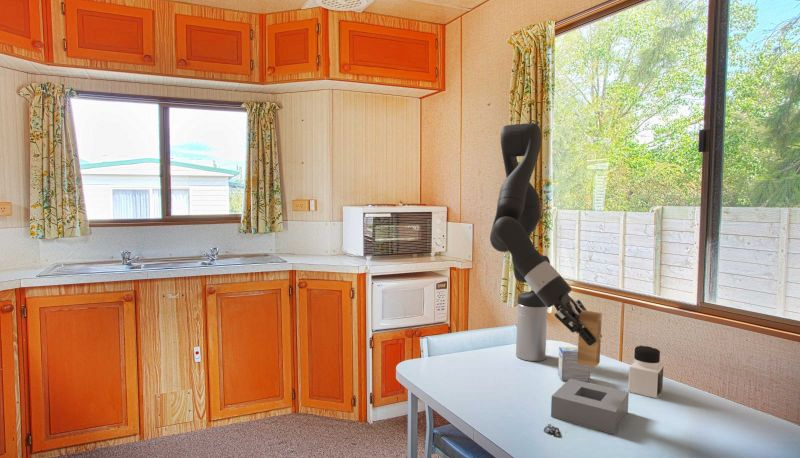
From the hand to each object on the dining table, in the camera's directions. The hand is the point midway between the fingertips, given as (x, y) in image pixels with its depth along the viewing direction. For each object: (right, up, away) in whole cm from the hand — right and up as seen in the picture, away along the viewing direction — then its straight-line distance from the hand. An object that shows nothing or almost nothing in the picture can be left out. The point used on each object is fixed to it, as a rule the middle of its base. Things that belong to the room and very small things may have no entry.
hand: (595, 340), depth 114 cm
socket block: (-1, -18, +2) cm, 18 cm away
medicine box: (+4, -17, +25) cm, 30 cm away
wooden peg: (-1, -5, +1) cm, 6 cm away
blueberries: (-12, -19, -7) cm, 23 cm away
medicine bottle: (+20, -18, +17) cm, 31 cm away
